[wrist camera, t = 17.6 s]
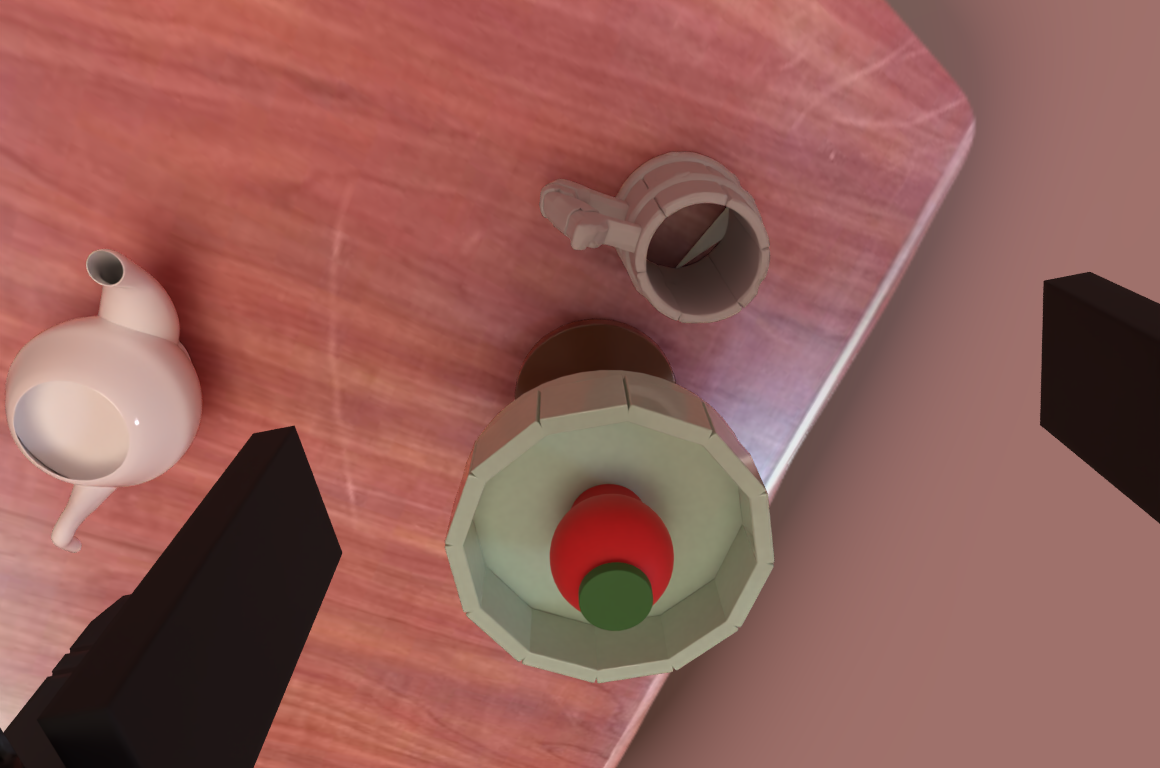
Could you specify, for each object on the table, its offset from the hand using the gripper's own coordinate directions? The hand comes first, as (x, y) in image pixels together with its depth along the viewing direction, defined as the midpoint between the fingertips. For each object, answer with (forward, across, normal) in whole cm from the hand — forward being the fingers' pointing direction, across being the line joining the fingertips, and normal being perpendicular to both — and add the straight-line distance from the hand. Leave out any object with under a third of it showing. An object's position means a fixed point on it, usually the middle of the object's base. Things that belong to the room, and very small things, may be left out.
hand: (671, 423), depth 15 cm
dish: (+34, -3, -14) cm, 37 cm away
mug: (+34, +2, -3) cm, 35 cm away
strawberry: (+20, -3, -14) cm, 25 cm away
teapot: (+34, -29, -7) cm, 45 cm away
